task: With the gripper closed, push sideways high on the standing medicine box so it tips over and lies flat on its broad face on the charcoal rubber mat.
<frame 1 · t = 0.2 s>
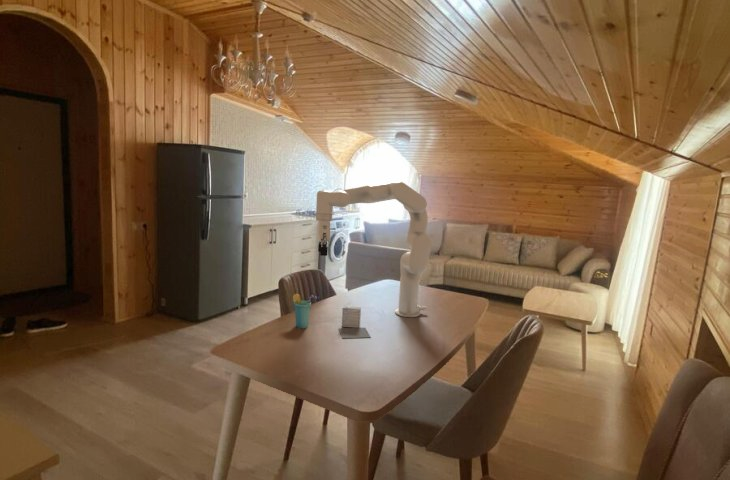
hand: (322, 253, 185), 30 cm above the table, fingers open, 9 cm apart
medicine box: (351, 326, 177), on the table, touching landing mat
cup: (303, 326, 174), on the table
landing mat: (354, 333, 169), on the table
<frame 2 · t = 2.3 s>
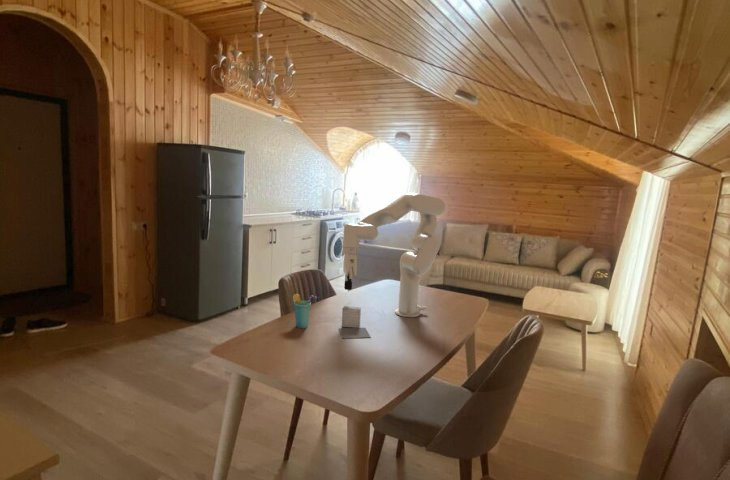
hand: (347, 289, 183), 15 cm above the table, fingers closed
nothing on the table moved.
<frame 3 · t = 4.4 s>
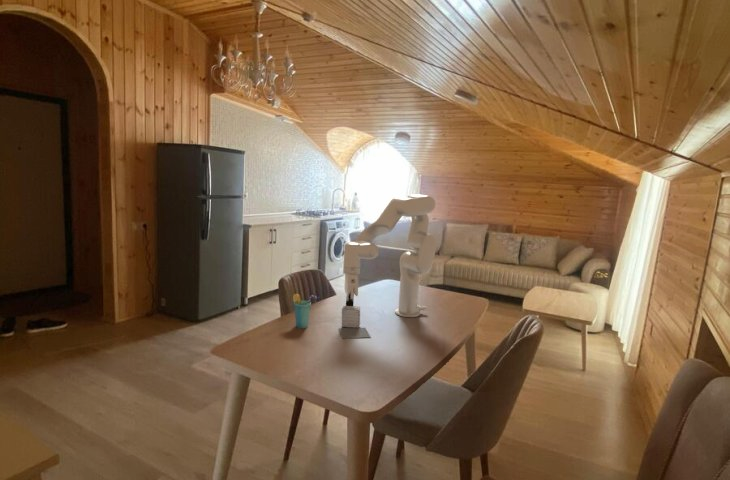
hand: (349, 309, 180), 7 cm above the table, fingers closed
medicine box: (351, 326, 177), on the table, touching gripper, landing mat
everything else where it was.
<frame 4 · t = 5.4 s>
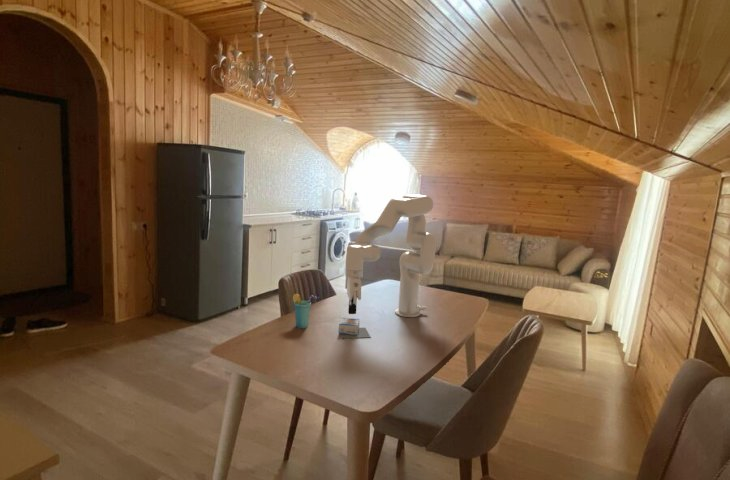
hand: (352, 313, 175), 7 cm above the table, fingers closed
medicine box: (350, 322, 175), point 2 cm above the table, touching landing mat
everything else where it was.
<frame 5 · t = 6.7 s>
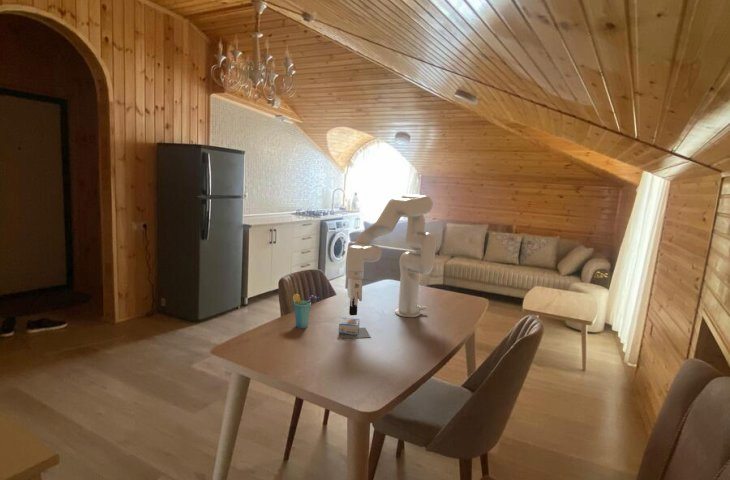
hand: (353, 314, 173), 7 cm above the table, fingers closed
nothing on the table moved.
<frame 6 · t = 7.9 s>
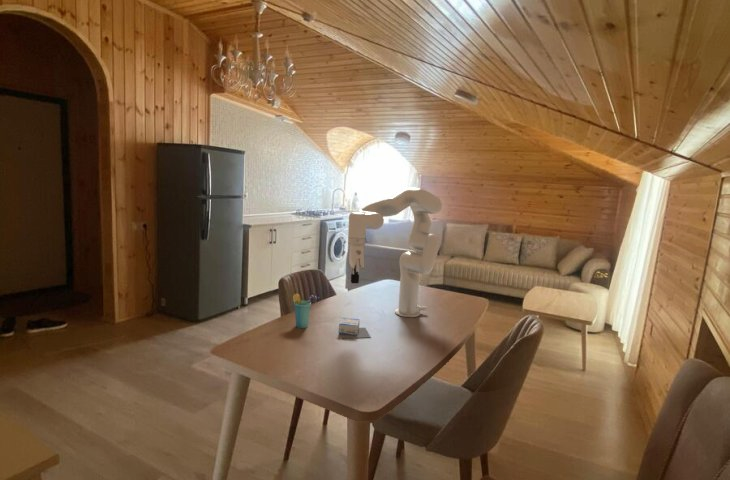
hand: (354, 282, 171), 21 cm above the table, fingers closed
nothing on the table moved.
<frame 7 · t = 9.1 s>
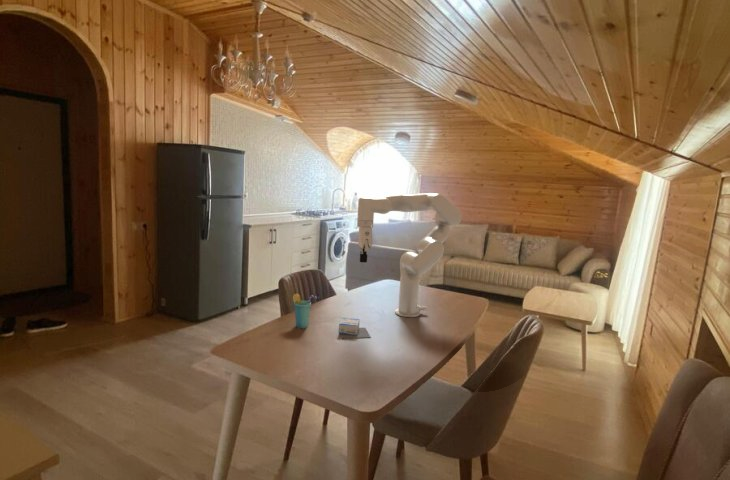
hand: (363, 261, 187), 27 cm above the table, fingers closed
nothing on the table moved.
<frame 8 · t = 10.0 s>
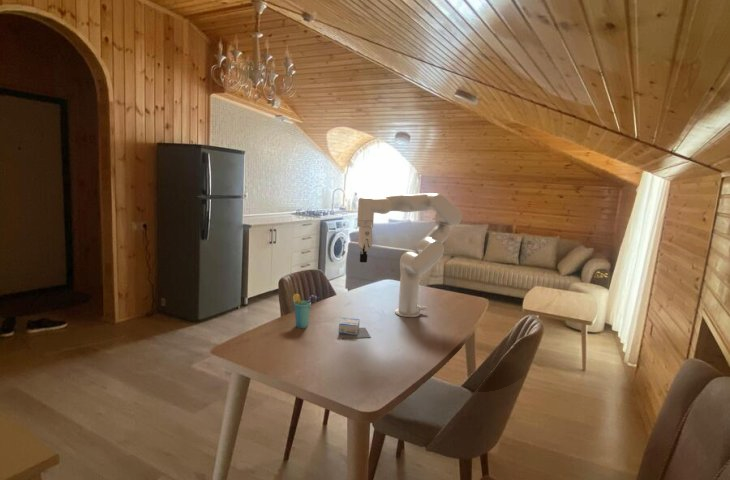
hand: (363, 261, 187), 27 cm above the table, fingers closed
nothing on the table moved.
at the end: medicine box tilted 89°; medicine box inside the target area (4.2 cm from its centre), point 2.4 cm above the table; the gripper is holding nothing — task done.
